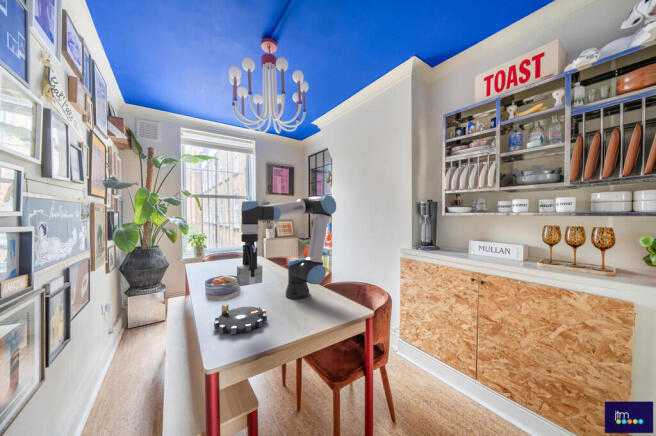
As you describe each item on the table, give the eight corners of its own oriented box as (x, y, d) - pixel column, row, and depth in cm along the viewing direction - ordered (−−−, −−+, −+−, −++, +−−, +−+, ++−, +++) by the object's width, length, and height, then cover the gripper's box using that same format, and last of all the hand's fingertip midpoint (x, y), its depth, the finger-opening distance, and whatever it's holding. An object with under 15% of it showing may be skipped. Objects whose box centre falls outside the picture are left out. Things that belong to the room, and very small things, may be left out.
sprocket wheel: (202, 331, 97) (202, 315, 97) (233, 309, 120) (233, 296, 120) (251, 336, 93) (251, 319, 93) (274, 313, 116) (274, 299, 116)
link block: (236, 283, 106) (236, 266, 106) (257, 279, 113) (257, 263, 112) (240, 286, 102) (240, 268, 102) (262, 282, 108) (262, 265, 108)
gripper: (265, 234, 102) (264, 285, 102) (250, 231, 117) (250, 276, 117) (248, 235, 97) (248, 288, 97) (235, 232, 112) (235, 278, 112)
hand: (249, 282), depth 107 cm, fingers closed on link block, 6 cm apart
